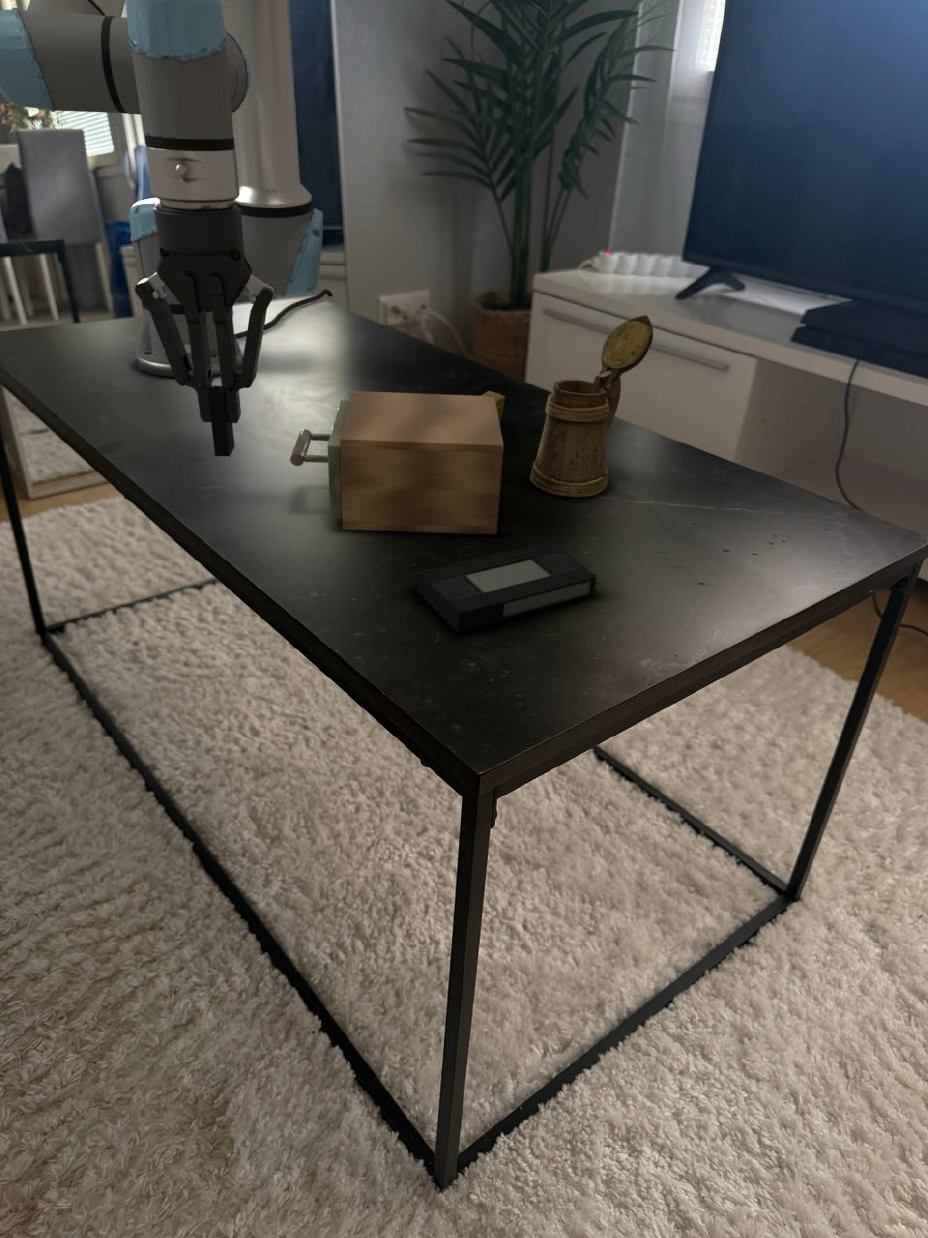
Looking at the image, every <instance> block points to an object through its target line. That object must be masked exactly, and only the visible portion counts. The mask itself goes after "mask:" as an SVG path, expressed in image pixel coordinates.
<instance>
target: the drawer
mask: <svg viewBox="0 0 928 1238" xmlns="http://www.w3.org/2000/svg"><path fill="white" fill-rule="evenodd" d="M349 403H350V400H339V404H338V408H337V412H336V414H335V417H334V420H333V421H334V422H333V424H332V425H333V426H332V427H331V432H330V433H312V431H310V430H309V429H308V428H307V429H306V428H303V429H301V430H300V431H299V434H298V436H297V439H296V440H295V444H294V446H293V448H292V452H291V454H290V458H289V461H290V463H291V465H293V466H294V467H300V466H303V464H304V463H316V464H317V463H320V464H327V469H328V472H327V474H328V495H329V517H330V519H338V520H339V519H341V520H343V512H342V481H341V450H340V448H341V447H340V438H341V434H342V430H343V426H344V423H345V419H346V415H347V411H348V407H349ZM311 441H312V442H313V441H314V442H327V455H325V454H324V455H323V454H321V455H320V454H308V452H309V447H310V445H311Z"/></svg>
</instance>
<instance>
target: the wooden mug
mask: <svg viewBox="0 0 928 1238" xmlns="http://www.w3.org/2000/svg"><path fill="white" fill-rule="evenodd" d="M653 340H654V328H653V324H652V322H651V320H650V318H649V316H648V315H647V314H645V315H640V316H636V317H633V318H630V319H628V320H626V321H624V322H622V323H620V324H619V325H617V326H616V327H615V328H614V329H613V330H612V331H611V333H610V334H609V335H608V337H607V339H606V340H605V342H604V344H603V347H602V351H601V354H600V355H601V356H600V358H601V359H600V360H601V366H602V368H601V370H600V372H599V374H598V375H596V376H595V378H594V380H593V382H590V381H585V380H580V379H562V380H558V381H555V382H554V383H553V385H552V389H551V393H550V394H549V395H548V397H547V402H546V405H545V413H546V417H545V422H544V426H543V430H542V435H541V439H540V442H539V447H538V451H537V455H536V458H535V460H534V461H533V463H532V467H531V471H530V476H529V480H530V482H531V483H532V485H534V486H535V487H537V488H538V489H540V490H541V491H543V492H546V493H548V494H552V495H555V496H556V495H557V496H560V497H561V496H562V497H568V498H569V497H570V498H587V497H593V496H595V495H598V494H600V493H602V492H603V491H604V490H605V489H607V487H608V483H609V482H608V477H609V475H608V470H609V469H608V467H607V465H606V450H607V449H606V444H607V443H606V439H607V437H606V435H607V433H608V430H609V428H610V426H611V424H612V422H613V419H614V418H615V415H616V412H617V411H618V408H619V407H618V406H619V402H620V399H621V391H622V380H621V377H622V375H623V374H625V373H627V372H629V371H631V370H632V369H634V368H636V367H637V366H638V365H639V364H640V363H641V362H642V361H643V359H644V358H645V357H646V356H647V354H648V352H649V350H650V348H651V345H652V343H653Z"/></svg>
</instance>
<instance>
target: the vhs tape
mask: <svg viewBox="0 0 928 1238" xmlns="http://www.w3.org/2000/svg"><path fill="white" fill-rule="evenodd" d="M597 579H598V575H596V574H594V573H593V572H592V571H591V570H590V569H588V568H587V567H585V566H584V565H583V564H582V563H580V562H579V561H578V560H576V559H575V558H574V557H573V556H571V555H569V553H567V552H565V551H564V550H563V549H562V548H560V547H559V546H557V544H556V543H554V542H552V541H546V542H542V543H537V544H534V545H529V546H525V547H520V548H516V549H511V550H507V551H503V552H498V553H495V554H490V555H486V556H481V557H477V558H473V559H468V560H463V561H460V562H456V563H455V562H454V563H451V564H448V565H443V566H442V565H441V566H439V567H434V568H430V569H429V568H428V569H426V570H421V571H418V572H417V588H416V589H417V592H418V593H419V594H420V595H421V596H422V597H423V598H424V599H425V600H426V601H427V602H428V604H430V606H431V607H432V608H433V609H434V610H435V611H436V612H437V613H438V614H439V615H440V616H441V617H442V618H443V619H444V620H445V621H446V623H448V624H449V625H450V626H451V627H452V628H453V629H454V630H455V631H456V632H457V633H462V632H466V631H468V630H472V629H477V628H480V627H484V626H487V625H491V624H495V623H498V622H503V621H507V620H510V619H512V618H516V617H521V616H523V615H527V614H531V613H534V612H538V611H539V612H540V611H542V610H546V609H550V608H553V607H557V606H561V605H563V604H568V603H571V602H575V601H579V600H582V599H586V598H590V597H594V596H595V593H596V586H597Z"/></svg>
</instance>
